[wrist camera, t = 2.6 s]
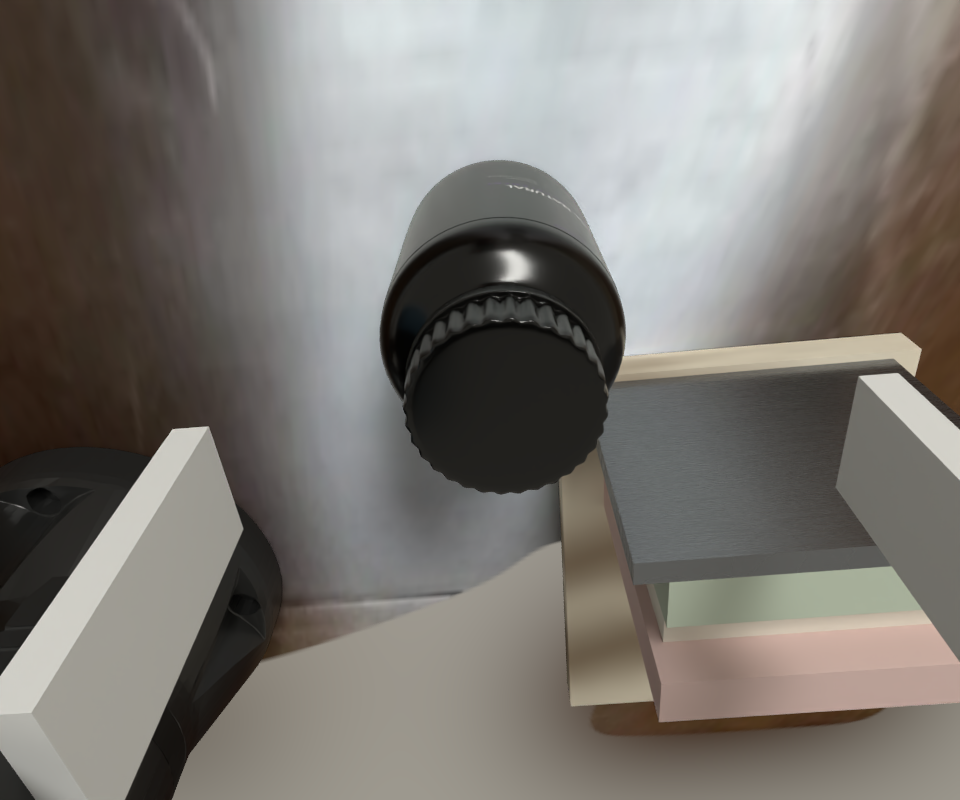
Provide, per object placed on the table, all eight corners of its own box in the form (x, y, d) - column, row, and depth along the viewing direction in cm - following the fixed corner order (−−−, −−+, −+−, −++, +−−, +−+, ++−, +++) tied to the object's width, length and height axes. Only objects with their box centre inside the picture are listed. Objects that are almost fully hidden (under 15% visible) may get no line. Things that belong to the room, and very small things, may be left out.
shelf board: (823, 665, 38) (836, 688, 37) (567, 682, 39) (570, 706, 38) (900, 333, 28) (921, 349, 27) (554, 362, 29) (557, 379, 28)
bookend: (889, 376, 28) (1078, 552, 19) (583, 402, 28) (633, 585, 19) (893, 358, 27) (1089, 530, 19) (583, 384, 28) (633, 563, 19)
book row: (845, 487, 30) (1004, 699, 21) (603, 506, 31) (659, 722, 22) (868, 378, 28) (1061, 568, 19) (603, 400, 28) (666, 596, 19)
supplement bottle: (583, 143, 25) (664, 255, 14) (590, 321, 28) (659, 517, 18) (389, 166, 25) (330, 293, 15) (419, 340, 28) (389, 542, 18)
